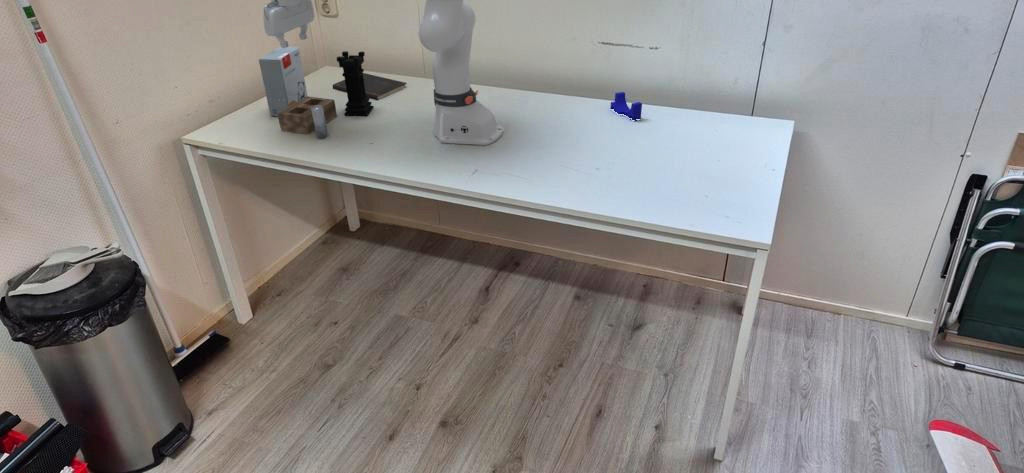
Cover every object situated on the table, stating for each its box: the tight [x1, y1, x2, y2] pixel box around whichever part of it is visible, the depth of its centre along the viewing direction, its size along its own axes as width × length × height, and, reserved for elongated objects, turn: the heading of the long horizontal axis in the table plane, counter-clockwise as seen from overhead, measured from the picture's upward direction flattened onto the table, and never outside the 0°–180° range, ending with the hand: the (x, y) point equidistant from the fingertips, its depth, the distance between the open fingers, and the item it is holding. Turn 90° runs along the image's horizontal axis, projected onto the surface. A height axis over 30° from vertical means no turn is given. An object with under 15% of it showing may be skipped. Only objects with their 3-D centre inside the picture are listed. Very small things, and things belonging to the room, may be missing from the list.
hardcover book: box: [332, 72, 407, 101], centre depth 246 cm, size 16×23×2 cm
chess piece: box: [336, 50, 375, 118], centre depth 221 cm, size 8×8×20 cm
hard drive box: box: [258, 45, 308, 117], centre depth 225 cm, size 16×8×20 cm, turn 171°
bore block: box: [277, 95, 338, 135], centre depth 217 cm, size 11×16×6 cm
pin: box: [311, 105, 329, 140], centre depth 207 cm, size 4×4×10 cm
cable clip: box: [610, 91, 643, 120], centre depth 218 cm, size 12×4×6 cm, turn 23°
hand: (294, 43), depth 204 cm, fingers open, 8 cm apart
